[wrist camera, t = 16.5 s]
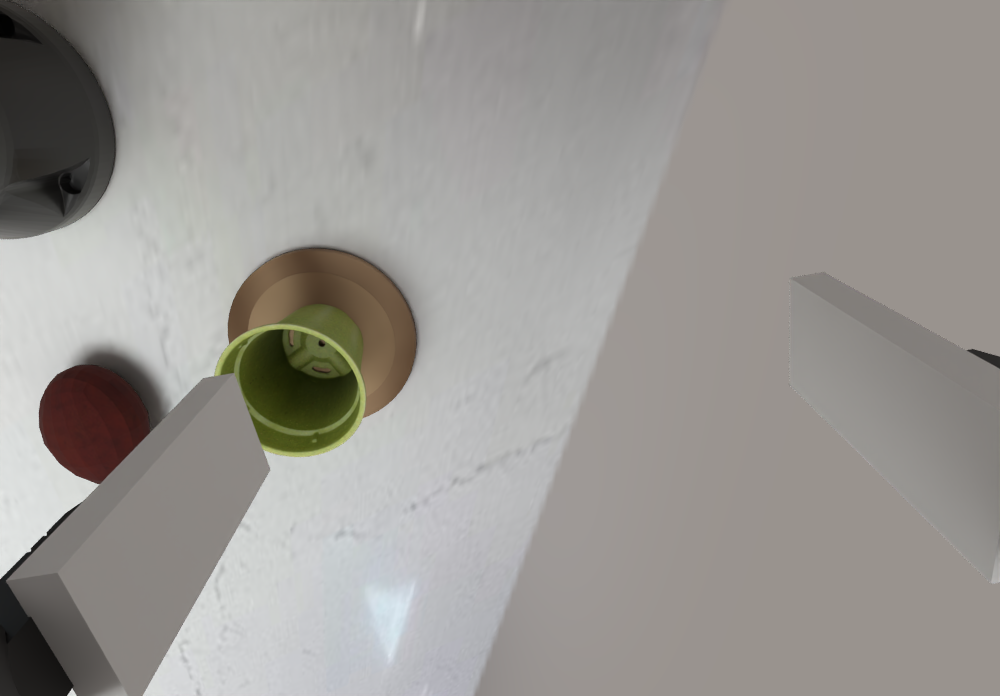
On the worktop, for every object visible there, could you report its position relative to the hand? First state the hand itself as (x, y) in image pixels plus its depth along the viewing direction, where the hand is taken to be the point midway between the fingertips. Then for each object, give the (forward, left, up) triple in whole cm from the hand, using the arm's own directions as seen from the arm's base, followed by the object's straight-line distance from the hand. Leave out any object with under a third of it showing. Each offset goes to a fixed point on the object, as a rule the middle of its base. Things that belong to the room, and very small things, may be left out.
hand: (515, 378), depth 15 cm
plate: (-15, -9, -32) cm, 36 cm away
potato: (-33, -12, -32) cm, 48 cm away
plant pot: (-15, -9, -31) cm, 35 cm away
